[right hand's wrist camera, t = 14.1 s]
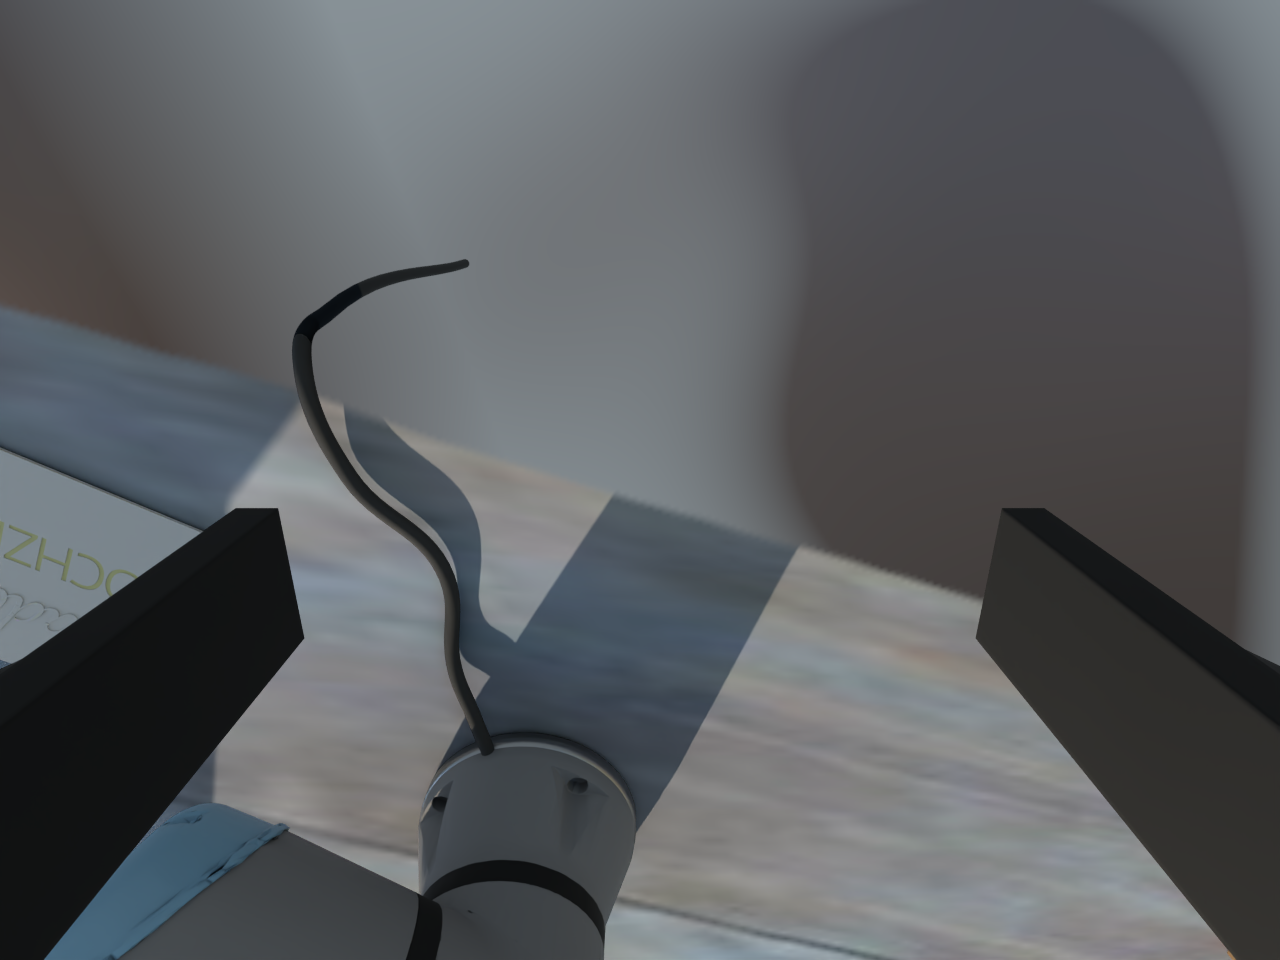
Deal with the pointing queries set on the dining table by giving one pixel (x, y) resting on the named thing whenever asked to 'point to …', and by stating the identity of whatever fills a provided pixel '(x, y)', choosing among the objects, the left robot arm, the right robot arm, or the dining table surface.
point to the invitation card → (68, 550)
